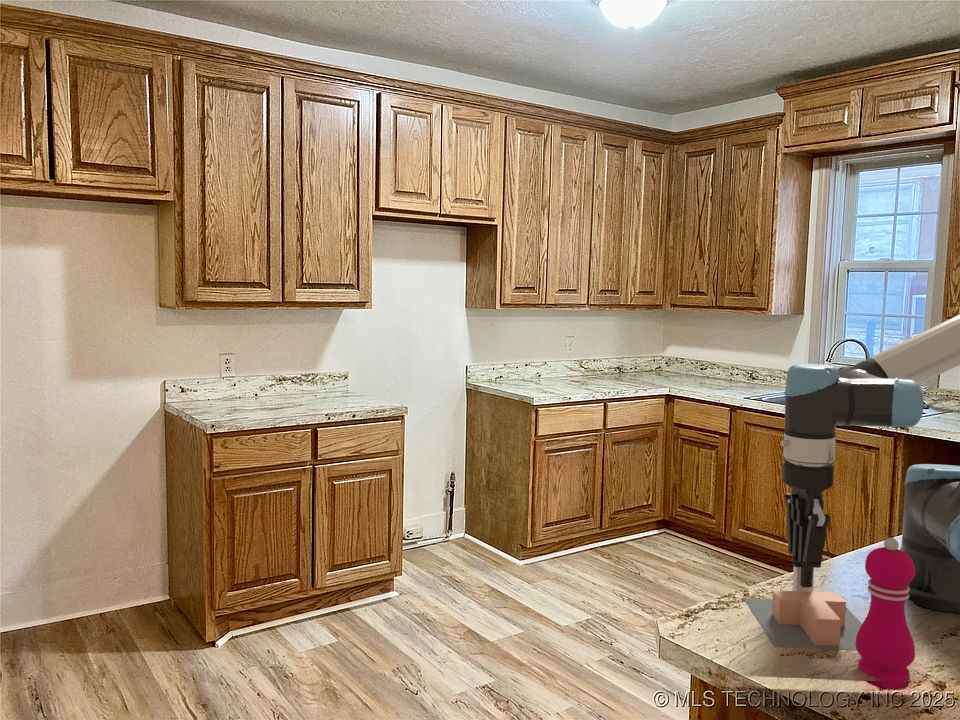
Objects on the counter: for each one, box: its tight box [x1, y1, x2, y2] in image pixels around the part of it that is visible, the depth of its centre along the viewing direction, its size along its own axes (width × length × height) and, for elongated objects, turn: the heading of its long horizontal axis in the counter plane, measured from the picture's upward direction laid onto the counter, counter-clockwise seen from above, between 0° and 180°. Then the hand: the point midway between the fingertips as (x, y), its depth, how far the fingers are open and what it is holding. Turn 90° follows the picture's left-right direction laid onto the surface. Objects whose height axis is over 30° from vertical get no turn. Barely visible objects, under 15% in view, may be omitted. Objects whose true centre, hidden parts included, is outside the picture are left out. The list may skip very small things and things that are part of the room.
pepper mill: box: [856, 537, 916, 690], centre depth 103 cm, size 7×7×20 cm
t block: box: [772, 589, 847, 646], centre depth 115 cm, size 10×10×4 cm
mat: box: [743, 597, 863, 651], centre depth 118 cm, size 16×17×1 cm
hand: (802, 602), depth 122 cm, fingers closed
